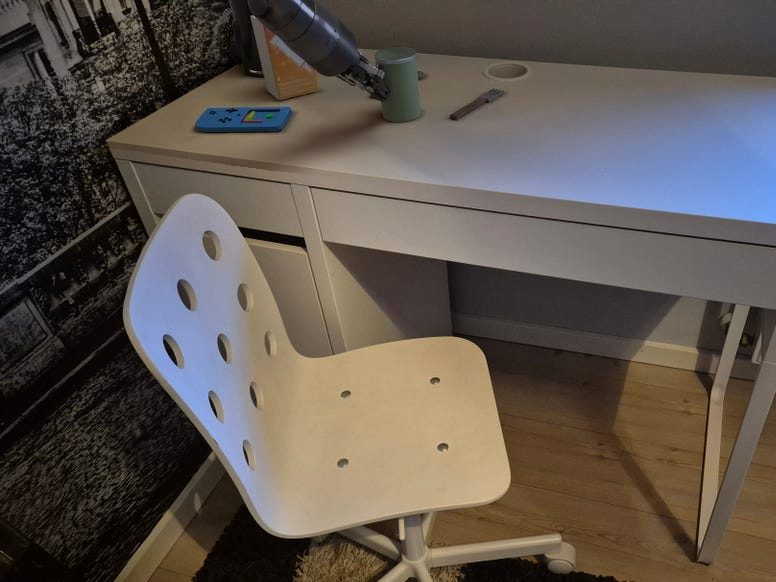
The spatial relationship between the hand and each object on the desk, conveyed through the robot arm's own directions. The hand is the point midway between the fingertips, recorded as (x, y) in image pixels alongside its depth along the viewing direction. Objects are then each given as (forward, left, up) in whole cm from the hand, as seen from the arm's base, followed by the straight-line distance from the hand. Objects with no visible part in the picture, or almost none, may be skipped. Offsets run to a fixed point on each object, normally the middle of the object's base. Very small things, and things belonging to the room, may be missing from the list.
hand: (384, 95), depth 109 cm
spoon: (+2, +16, -4) cm, 17 cm away
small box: (-17, +17, -5) cm, 25 cm away
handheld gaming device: (-24, +4, -4) cm, 25 cm away
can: (+2, +3, -4) cm, 6 cm away
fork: (+16, +5, -4) cm, 17 cm away
